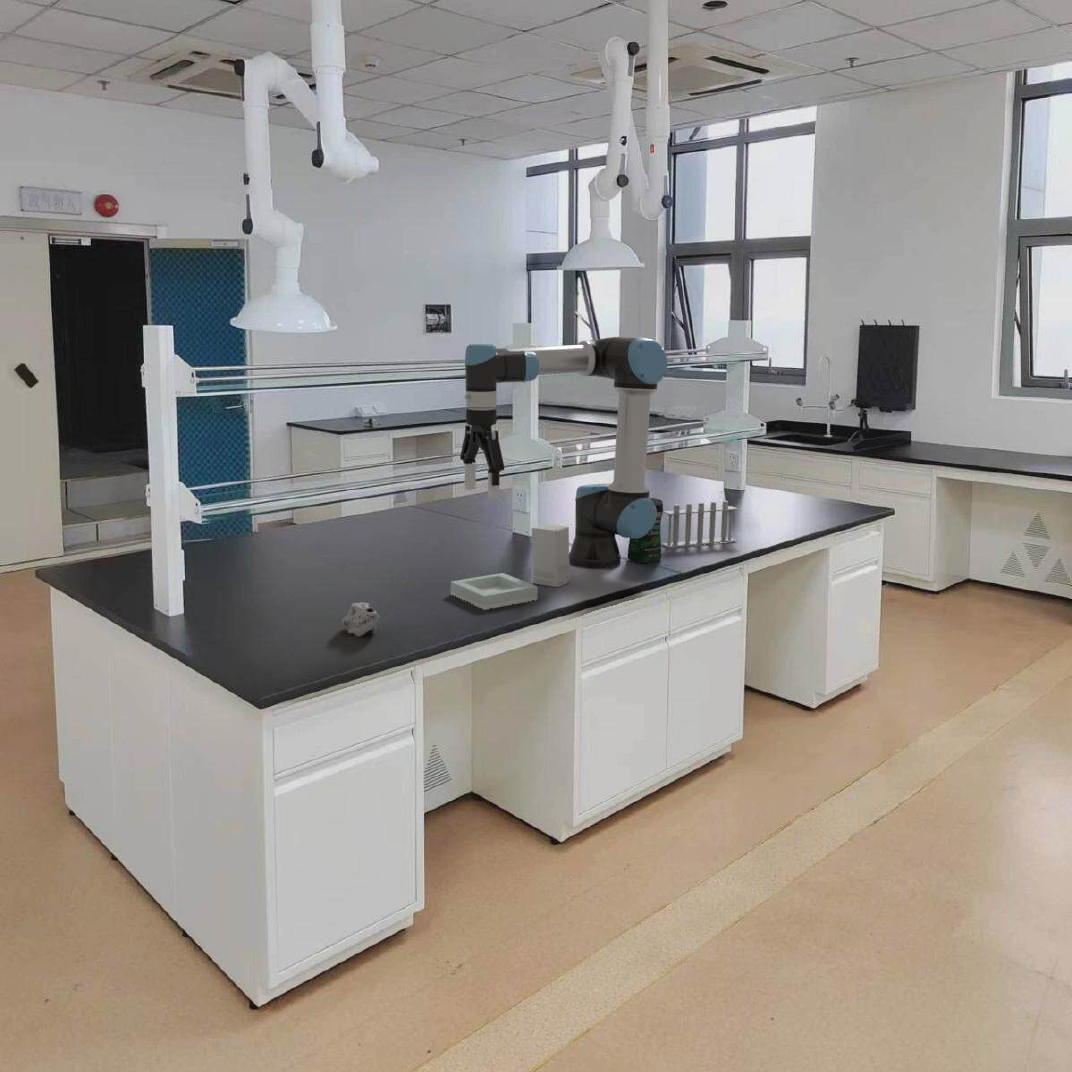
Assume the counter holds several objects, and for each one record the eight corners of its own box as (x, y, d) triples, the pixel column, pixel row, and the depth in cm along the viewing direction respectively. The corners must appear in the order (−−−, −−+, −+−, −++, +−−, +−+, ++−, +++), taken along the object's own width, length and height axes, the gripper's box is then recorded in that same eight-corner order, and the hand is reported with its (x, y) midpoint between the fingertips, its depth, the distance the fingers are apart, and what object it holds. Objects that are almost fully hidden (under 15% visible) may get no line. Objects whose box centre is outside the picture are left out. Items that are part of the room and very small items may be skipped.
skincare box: (569, 583, 278) (570, 526, 275) (556, 588, 273) (557, 531, 269) (544, 578, 283) (544, 522, 279) (530, 583, 277) (530, 526, 274)
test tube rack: (729, 539, 332) (731, 499, 329) (736, 542, 328) (739, 501, 325) (661, 545, 322) (662, 504, 319) (668, 549, 318) (670, 506, 315)
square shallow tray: (502, 585, 275) (502, 572, 274) (537, 599, 262) (537, 586, 261) (450, 594, 266) (450, 581, 265) (484, 609, 253) (484, 596, 252)
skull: (366, 611, 242) (382, 586, 233) (375, 645, 238) (391, 621, 229) (334, 614, 238) (349, 589, 229) (342, 649, 234) (358, 624, 225)
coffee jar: (639, 565, 297) (642, 502, 293) (623, 559, 304) (625, 497, 300) (666, 561, 302) (668, 499, 298) (649, 555, 309) (651, 494, 305)
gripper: (446, 404, 261) (447, 486, 266) (489, 414, 240) (490, 503, 245) (473, 402, 265) (474, 484, 269) (518, 412, 243) (518, 501, 248)
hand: (481, 493), depth 257 cm, fingers open, 13 cm apart
